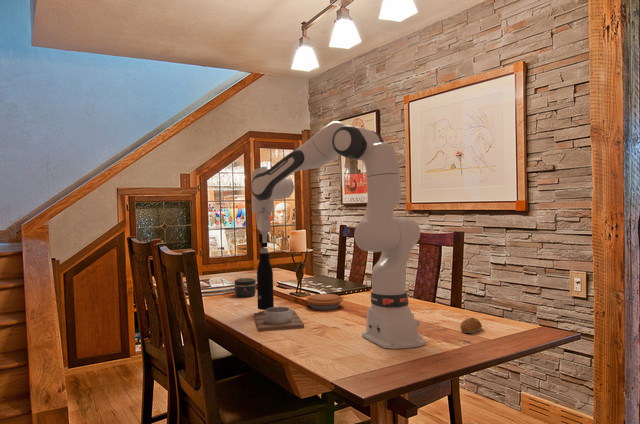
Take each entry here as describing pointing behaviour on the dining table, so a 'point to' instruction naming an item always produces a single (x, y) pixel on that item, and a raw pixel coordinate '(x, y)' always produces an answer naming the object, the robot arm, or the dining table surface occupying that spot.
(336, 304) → the pie
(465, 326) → the pastry
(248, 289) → the jar
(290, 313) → the grey bowl
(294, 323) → the walnut board
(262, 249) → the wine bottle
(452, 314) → the dining table surface
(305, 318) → the dining table surface
